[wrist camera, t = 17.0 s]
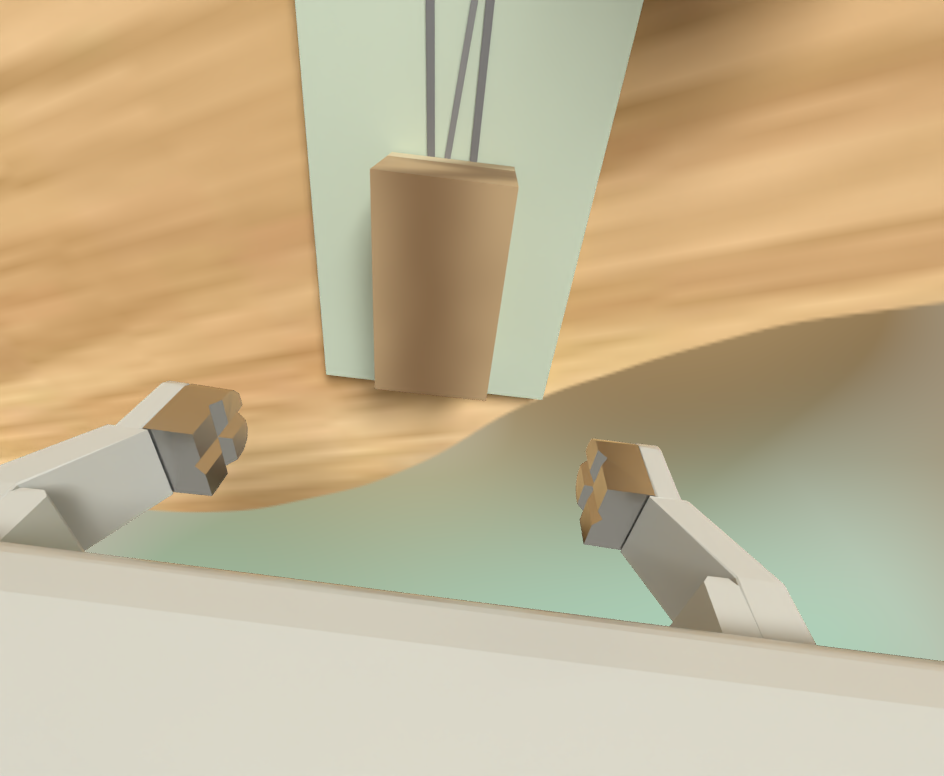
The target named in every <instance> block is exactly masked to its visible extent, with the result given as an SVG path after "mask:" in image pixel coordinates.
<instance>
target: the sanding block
mask: <svg viewBox="0 0 944 776" xmlns="http://www.w3.org/2000/svg"><path fill="white" fill-rule="evenodd" d="M518 188H519V186H518V181H517V177H516V172H515V167H512V166H504V165H495V164H487V163H479V162H471V161H463V160H455V159H446V158H438V157H430V156H422V155H414V154H406V153H397V152H391V153H390V154H389V155H387V156H386V157H385V158H383V159H382V160H381V161H380V162H378V163H377V164H376V165H374V166H373V167H372V168H370V199H371V242H372V286H373V329H374V373H375V389H381V390H390V391H399V392H409V393H418V394H427V395H436V396H445V397H455V398H464V399H473V400H482V401H486V398H487V392H488V385H489V378H490V372H491V365H492V359H493V352H494V346H495V339H496V333H497V326H498V319H499V313H500V306H501V300H502V293H503V287H504V280H505V274H506V267H507V260H508V254H509V247H510V241H511V234H512V228H513V221H514V215H515V208H516V201H517V195H518Z"/></svg>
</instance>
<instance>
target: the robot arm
mask: <svg viewBox="0 0 944 776" xmlns="http://www.w3.org/2000/svg"><path fill="white" fill-rule="evenodd" d="M241 406H242V402H241V398H240V395H239V393H237V392H236V391H234V390H228V389H222V388H215V387H209V386H203V385H196V384H188V383H181V382H175V381H167V382H163V383H161V384H160V385H159V386H158V387H157V388H156V389H155V390H154V391H153V392H151V393H150V394H149V395H148V396H147V397H146V398H145V399H144V400H143V401H142V402H140V403H139V404H138V405H137V406H136V407H135V408H134V409H133V410H132V411H130V412H129V413H128V414H127V415H126V416H125V417H124V418H123V419H122V420H121V421H119V422H118V423H117V424H116V425H105V426H102V427H100V428H97V429H95V430H92V431H89V432H87V433H84V434H81V435H79V436H76V437H73V438H71V439H68V440H65V441H63V442H60V443H57V444H55V445H52V446H50V447H47V448H44V449H42V450H39V451H36V452H34V453H31V454H28V455H26V456H23V457H20V458H18V459H15V460H12V461H10V462H7V463H5V464H2V465H0V776H944V661H938V660H930V659H922V658H914V657H905V656H897V655H890V654H882V653H874V652H866V651H857V650H850V649H841V648H834V647H826V646H818V645H816V643H815V641H814V640H813V638H812V636H811V634H810V632H809V630H808V628H807V627H806V624H805V623H804V621H803V619H802V617H801V615H800V613H799V611H798V609H797V607H796V606H795V604H794V602H793V600H792V598H791V596H790V594H789V592H788V591H787V589H786V587H785V585H784V584H783V583H782V582H781V581H780V580H778V579H777V578H776V577H775V576H774V575H773V574H771V573H770V572H769V571H768V570H767V569H766V568H765V567H763V566H762V565H761V564H760V563H759V562H757V561H756V560H755V559H754V558H753V557H752V556H751V555H750V554H748V553H747V552H746V551H745V550H744V549H743V548H741V547H740V546H739V545H738V544H737V543H736V542H734V541H733V540H732V539H731V538H730V537H729V536H728V535H726V534H725V533H724V532H723V531H722V530H721V529H720V528H718V527H717V526H716V525H715V524H714V523H713V522H711V521H710V520H709V519H708V518H707V517H706V516H704V515H703V514H702V513H701V512H700V511H699V510H698V509H696V508H695V507H694V506H693V505H692V504H691V503H689V502H688V501H684V500H681V498H680V496H679V493H678V491H677V489H676V486H675V484H674V481H673V479H672V476H671V474H670V472H669V469H668V467H667V464H666V462H665V459H664V457H663V454H662V452H661V450H660V448H659V447H657V446H653V445H644V444H631V443H623V442H615V441H608V440H600V439H591V441H590V442H589V444H588V446H587V449H586V455H587V461H586V462H584V463H582V464H581V465H580V468H579V471H578V475H577V481H576V499H577V504H578V505H579V506H580V507H581V509H582V510H583V512H582V515H581V518H580V525H581V530H582V537H583V543H584V544H586V545H593V546H599V547H605V548H611V549H618V550H621V553H622V554H623V556H624V557H625V558H626V560H627V561H628V562H629V564H630V565H631V566H632V568H633V569H634V570H635V572H636V573H637V574H638V576H639V577H640V578H641V580H642V581H643V582H644V584H645V585H646V586H647V588H648V589H649V590H650V592H651V593H652V594H653V596H654V597H655V598H656V600H657V601H658V602H659V604H660V605H661V607H662V608H663V609H664V610H665V612H666V613H667V615H668V616H669V617H670V619H671V620H672V621H673V623H672V624H671V625H670V626H662V625H654V624H646V623H638V622H631V621H623V620H615V619H607V618H599V617H591V616H583V615H576V614H568V613H560V612H552V611H543V610H535V609H529V608H520V607H513V606H505V605H497V604H489V603H481V602H472V601H465V600H457V599H449V598H441V597H432V596H425V595H417V594H410V593H402V592H394V591H385V590H378V589H370V588H363V587H355V586H347V585H339V584H331V583H324V582H316V581H308V580H300V579H292V578H285V577H276V576H268V575H261V574H253V573H245V572H237V571H229V570H222V569H214V568H206V567H198V566H190V565H182V564H175V563H167V562H158V561H151V560H143V559H135V558H128V557H120V556H112V555H103V554H96V553H88V552H85V550H86V549H88V548H90V547H91V546H93V545H94V544H96V543H97V542H99V541H100V540H102V539H104V538H105V537H107V536H108V535H110V534H112V533H113V532H114V531H116V530H118V529H119V528H121V527H122V526H124V525H125V524H127V523H129V522H130V521H132V520H133V519H135V518H136V517H138V516H139V515H141V514H143V513H144V512H146V511H147V510H149V509H150V508H152V507H153V506H155V505H157V504H158V503H160V502H161V501H163V500H164V499H166V498H167V497H169V496H171V495H172V494H173V492H180V493H189V494H199V495H209V496H212V495H213V494H214V493H215V491H216V490H217V488H218V487H219V485H220V484H221V482H222V481H223V480H224V478H225V477H226V475H227V474H228V473H227V469H226V465H228V464H229V463H231V462H233V461H235V460H237V459H238V458H239V456H240V455H241V453H242V452H243V450H244V447H245V444H246V441H247V431H248V428H247V423H246V420H245V419H244V418H243V417H242V416H241V415H240V414H239V413H238V410H239V409H240V408H241Z"/></svg>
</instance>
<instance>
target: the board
mask: <svg viewBox="0 0 944 776" xmlns="http://www.w3.org/2000/svg"><path fill="white" fill-rule="evenodd" d="M643 1H644V0H295V7H296V19H297V31H298V43H299V55H300V67H301V79H302V91H303V103H304V114H305V126H306V138H307V150H308V162H309V174H310V186H311V198H312V210H313V222H314V234H315V245H316V257H317V269H318V281H319V293H320V305H321V317H322V329H323V341H324V353H325V365H326V375H334V376H343V377H351V378H360V379H368V380H375V373H374V329H373V286H372V242H371V199H370V168H372V167H373V166H374V165H376V164H377V163H378V162H380V161H381V160H382V159H383V158H385V157H386V156H387V155H389V154H390V153H391V152H397V153H406V154H414V155H422V156H430V157H438V158H446V159H455V160H463V161H471V162H479V163H487V164H495V165H504V166H512V167H515V172H516V177H517V181H518V186H519V188H518V195H517V201H516V208H515V215H514V221H513V228H512V234H511V241H510V247H509V254H508V260H507V267H506V274H505V280H504V287H503V293H502V300H501V306H500V313H499V319H498V326H497V333H496V339H495V346H494V352H493V359H492V365H491V372H490V378H489V385H488V392H487V394H496V395H504V396H513V397H521V398H530V399H538V400H542V399H543V395H544V391H545V387H546V383H547V379H548V375H549V371H550V367H551V363H552V359H553V356H554V352H555V348H556V344H557V340H558V336H559V332H560V328H561V324H562V320H563V316H564V312H565V308H566V304H567V300H568V297H569V293H570V289H571V285H572V281H573V277H574V273H575V269H576V265H577V261H578V257H579V253H580V249H581V245H582V241H583V237H584V234H585V230H586V226H587V222H588V218H589V214H590V210H591V206H592V202H593V198H594V194H595V190H596V186H597V182H598V178H599V175H600V171H601V167H602V163H603V159H604V155H605V151H606V147H607V143H608V139H609V135H610V131H611V127H612V123H613V119H614V115H615V112H616V108H617V104H618V100H619V96H620V92H621V88H622V84H623V80H624V76H625V72H626V68H627V64H628V60H629V56H630V52H631V49H632V45H633V41H634V37H635V33H636V29H637V25H638V21H639V17H640V13H641V9H642V5H643Z"/></svg>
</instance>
